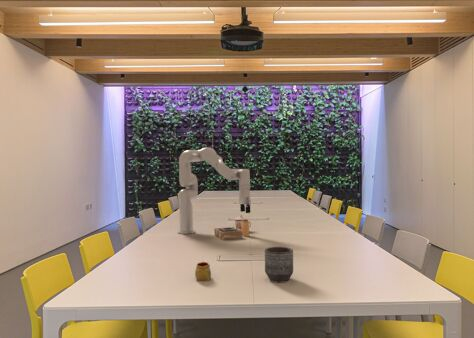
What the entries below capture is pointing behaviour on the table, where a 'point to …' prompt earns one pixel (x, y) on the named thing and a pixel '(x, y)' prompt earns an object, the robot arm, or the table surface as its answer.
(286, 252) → the planter
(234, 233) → the oak box
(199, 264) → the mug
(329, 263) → the table surface
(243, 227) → the block
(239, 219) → the teacup with lid
